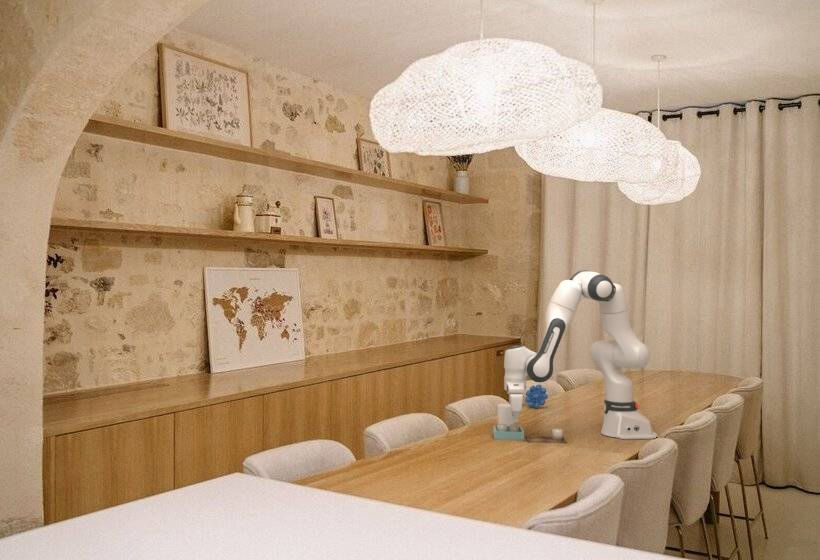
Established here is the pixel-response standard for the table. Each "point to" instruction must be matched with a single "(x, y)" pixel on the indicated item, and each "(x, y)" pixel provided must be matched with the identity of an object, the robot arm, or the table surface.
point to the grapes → (536, 396)
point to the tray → (544, 439)
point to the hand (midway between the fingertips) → (515, 419)
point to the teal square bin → (508, 434)
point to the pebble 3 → (556, 434)
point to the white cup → (505, 414)
